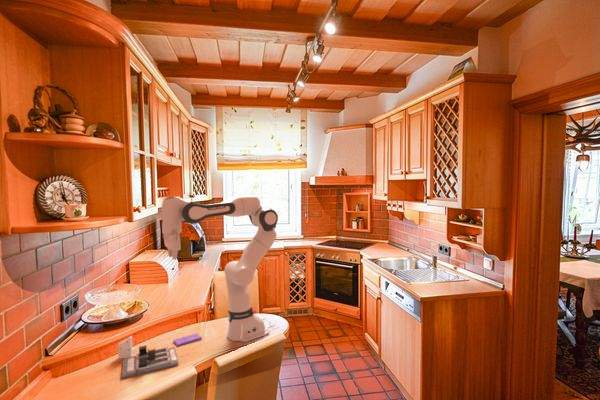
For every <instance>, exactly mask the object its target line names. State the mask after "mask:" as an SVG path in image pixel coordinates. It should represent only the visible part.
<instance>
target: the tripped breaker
mask: <svg viewBox="0 0 600 400" xmlns="http://www.w3.org/2000/svg"><path fill="white" fill-rule="evenodd" d="M155 350H156V347H155V346H153V347H148V348H147V351H148V360H151V359H155Z"/></svg>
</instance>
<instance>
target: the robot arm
mask: <svg viewBox="0 0 600 400" xmlns="http://www.w3.org/2000/svg"><path fill="white" fill-rule="evenodd" d="M219 216H225V217H233V218H235V217H237V218H238V217H244V216H245V217H246V216H248V217H249V220H250V223H251V224H252V225H253V226H255V227H258V228H257V231H256V234H255V235H254V236H253V237H252V239H251V240H250V241H249V242H248V244H247V245H245V247H244V249H243V252H242V255H241V257H240V259H239V260H232V261H230V262H229V261H228V262H227V264H226V265H225V266H224V275H225V282H226V283H225V284H226V289H227V293H228V296H227V297H228V310H227V312H228V314H227V320H228V328H227V329H228V330H227V334H226V339H228V340H230V341H234V342H235V341H236V342H243V343H247V342H250V341H252V340H255V339H258V338H262V337H264V336H267V335H269V334H270V328H268V327H267V326H266V325H265V322H264V321H263V319H262V317H260V316H258V315H256V314H257V309H255V308H253V307H252V306H251V302H250V301H251V300H250V291H249V289H248V286H250V285H251V284H252V282H253V280H254V278H255V277H254V275H255V273H256V271H257V268H258V266H259V264H260V262H261V261H262V260H263V259H264V257H265V255H267V253H268V251H269V250H270V249H271V247H272V246H273V244H274V242H275V240H276V238H277V231H276V230H275V229H276V228H277V223H278V220H279V216H278V213H277V212H276V211H275V210H274V209H272V208H269V207H268V208H267V207H262V206H261V201H260V198H258V196H256V195H249V194H248V195H236V196H231V197H229V198H226V199H225V200H224V201H222V202H217V203H211V204H202V203H199V202H194V201H193V202H190V201H188V200H185V199H183V198H181V197H180V196H177V195H176V196H170V197H166V198H164V199H163V200H162V205H161V217H162V221H161V233H162V234H163V242H164V246H165V247H166V248H167V253H168V257H170V258H172V260H177V259H178V253H179V252H178V251H181V248H182V246H181V245H182V244H181V235H180V234H181V233H182V232H183V231H182V230H183V229H182V224H183V223H182V222H187V223H188V224H192V225H194V224H198V223H200V222H202V221H203V220H206V219H208V218H214V217H215V218H216V217H219Z"/></svg>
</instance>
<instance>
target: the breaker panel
mask: <svg viewBox="0 0 600 400" xmlns="http://www.w3.org/2000/svg"><path fill="white" fill-rule="evenodd" d="M176 351H177V350H176V347H175V346H173V347H168V346H167V347H162V348H157V349H156V348H155V359H151V360H148V349H147V345H143V346H139V347H138V353H135V355H134V356H133V357H128V358H124V359H123V361H122V362H123V364H122V373H121V374H122V375H121V378H123V379H125V378H124V377H127V378H130V377H129V376H132V377H134V376H133V375H136V376H139V374H140V375H143V374H146V373H151V372H155V371H159V370H160V371H161V370H162V369H168V368H171V367H175V366H179V358H178V355H177V352H176Z"/></svg>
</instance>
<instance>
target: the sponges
mask: <svg viewBox="0 0 600 400" xmlns="http://www.w3.org/2000/svg"><path fill="white" fill-rule="evenodd" d="M202 339H203V338H202V336H201V335H200V334H199V333H197V332H195V333H192V334H190V335H185V336H181V337H178V338H175V339H173V341H172V342H173V344H174V345H176V346H177V347H181V346H184V345H187V344H192V343H194V342H197V341H198V342H199V341H201V340H202Z"/></svg>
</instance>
